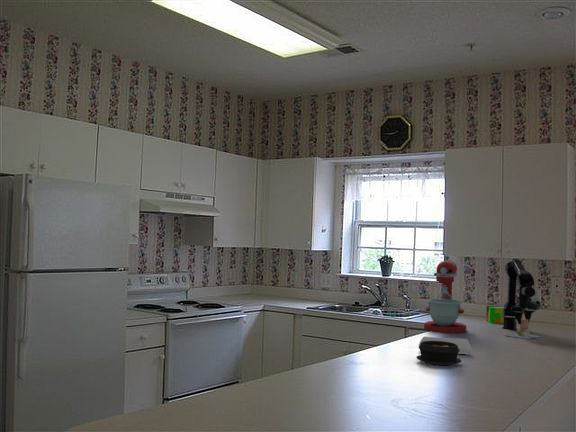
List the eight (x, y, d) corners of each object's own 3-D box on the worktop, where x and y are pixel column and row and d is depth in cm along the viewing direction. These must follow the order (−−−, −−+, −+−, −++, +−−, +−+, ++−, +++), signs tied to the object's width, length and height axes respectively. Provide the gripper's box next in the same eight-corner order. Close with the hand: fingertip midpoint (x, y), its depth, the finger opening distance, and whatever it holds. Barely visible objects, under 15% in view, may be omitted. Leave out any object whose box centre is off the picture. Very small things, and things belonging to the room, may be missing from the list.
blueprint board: (504, 335, 343) (504, 335, 343) (518, 333, 354) (518, 332, 354) (528, 339, 333) (528, 338, 333) (542, 337, 343) (542, 336, 343)
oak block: (517, 335, 343) (517, 328, 343) (521, 334, 347) (521, 327, 347) (525, 336, 340) (525, 329, 340) (530, 335, 343) (530, 328, 343)
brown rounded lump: (517, 328, 343) (518, 319, 344) (521, 327, 346) (522, 318, 347) (525, 329, 340) (526, 320, 340) (529, 328, 343) (530, 319, 343)
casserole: (461, 371, 245) (462, 350, 246) (414, 367, 250) (414, 346, 251) (461, 360, 270) (461, 340, 270) (418, 356, 275) (418, 337, 275)
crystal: (469, 344, 289) (417, 341, 292) (472, 338, 283) (418, 335, 286) (470, 359, 285) (417, 356, 288) (473, 354, 279) (419, 351, 282)
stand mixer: (420, 331, 349) (421, 260, 351) (427, 324, 379) (429, 259, 380) (463, 335, 341) (465, 262, 342) (468, 327, 370) (469, 261, 372)
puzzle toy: (501, 321, 405) (502, 306, 406) (505, 323, 395) (506, 308, 396) (486, 320, 406) (486, 305, 407) (489, 323, 396) (490, 307, 397)
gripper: (530, 297, 332) (529, 326, 331) (546, 296, 344) (545, 324, 344) (510, 295, 340) (510, 324, 339) (527, 294, 352) (526, 321, 352)
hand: (523, 323), depth 343 cm, fingers open, 9 cm apart
